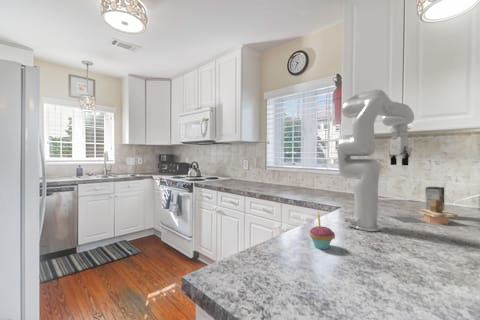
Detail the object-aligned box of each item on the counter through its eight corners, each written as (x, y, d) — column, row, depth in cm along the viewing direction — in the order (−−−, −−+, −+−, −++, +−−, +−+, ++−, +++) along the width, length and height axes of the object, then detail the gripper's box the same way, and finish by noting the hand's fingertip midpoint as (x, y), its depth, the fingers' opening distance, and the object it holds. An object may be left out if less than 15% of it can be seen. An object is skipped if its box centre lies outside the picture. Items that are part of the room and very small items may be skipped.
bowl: (434, 224, 109) (434, 216, 109) (420, 219, 118) (420, 211, 118) (453, 224, 109) (453, 216, 109) (437, 219, 118) (437, 212, 118)
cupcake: (304, 244, 83) (304, 211, 83) (322, 241, 86) (322, 209, 86) (321, 253, 75) (321, 217, 75) (340, 249, 78) (340, 214, 78)
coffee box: (430, 213, 132) (430, 186, 132) (444, 215, 126) (444, 187, 126) (425, 215, 126) (425, 187, 126) (439, 218, 121) (440, 188, 121)
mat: (404, 223, 111) (404, 222, 111) (388, 217, 123) (388, 216, 123) (428, 223, 111) (428, 222, 111) (411, 217, 123) (411, 216, 123)
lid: (434, 216, 108) (434, 201, 108) (416, 211, 119) (416, 197, 119) (457, 217, 108) (457, 202, 108) (438, 211, 119) (438, 198, 119)
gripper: (383, 136, 138) (383, 164, 138) (403, 133, 121) (402, 165, 121) (396, 136, 138) (395, 164, 138) (417, 133, 121) (417, 165, 121)
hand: (399, 165), depth 130 cm, fingers open, 9 cm apart
